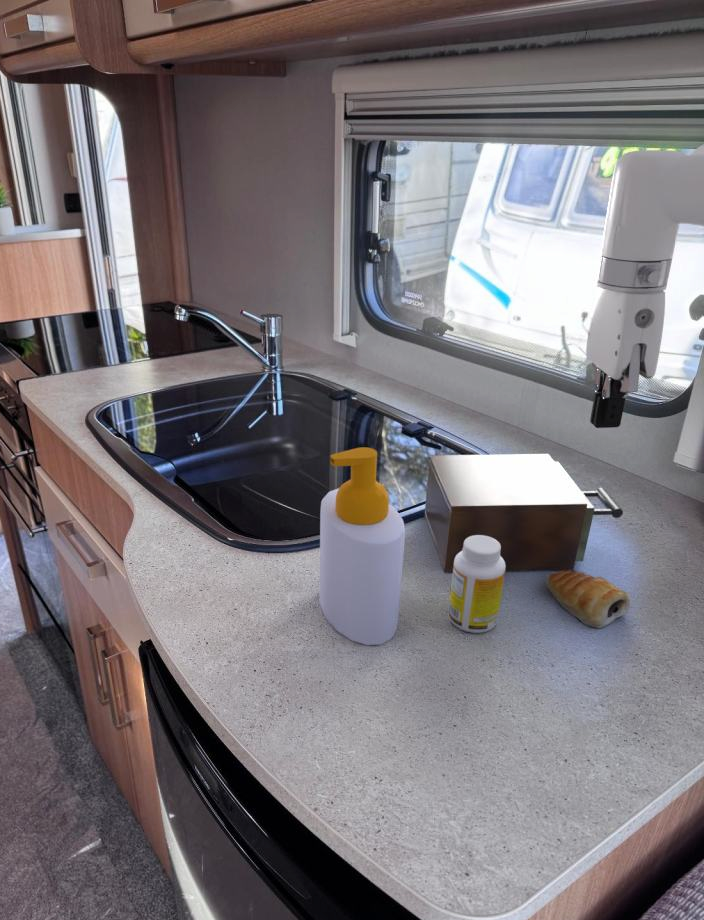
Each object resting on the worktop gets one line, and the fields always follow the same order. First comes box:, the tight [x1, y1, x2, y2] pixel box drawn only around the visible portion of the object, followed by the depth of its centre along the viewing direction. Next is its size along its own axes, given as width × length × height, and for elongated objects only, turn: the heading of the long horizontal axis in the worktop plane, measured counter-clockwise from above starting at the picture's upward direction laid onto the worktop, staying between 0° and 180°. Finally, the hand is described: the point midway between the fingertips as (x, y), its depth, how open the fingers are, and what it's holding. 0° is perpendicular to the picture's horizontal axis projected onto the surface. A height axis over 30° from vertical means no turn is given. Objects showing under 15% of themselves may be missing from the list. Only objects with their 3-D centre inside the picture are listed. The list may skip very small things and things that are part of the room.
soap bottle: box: [318, 446, 406, 646], centre depth 79 cm, size 13×8×20 cm, turn 20°
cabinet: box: [423, 453, 587, 574], centre depth 96 cm, size 17×15×10 cm
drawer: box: [554, 461, 624, 563], centre depth 96 cm, size 21×13×8 cm, turn 93°
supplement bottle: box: [448, 535, 506, 634], centre depth 80 cm, size 6×6×10 cm
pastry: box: [547, 570, 631, 629], centre depth 85 cm, size 9×7×4 cm
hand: (604, 424), depth 90 cm, fingers closed
